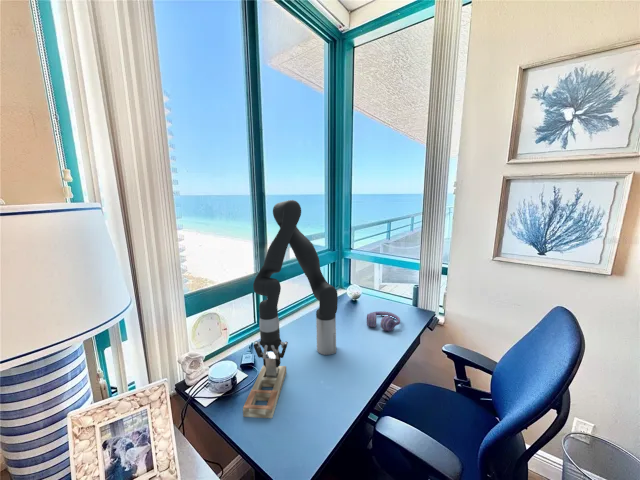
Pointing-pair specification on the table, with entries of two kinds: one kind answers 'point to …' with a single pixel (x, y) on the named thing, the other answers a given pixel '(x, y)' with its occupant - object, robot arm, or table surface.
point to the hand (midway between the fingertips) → (272, 365)
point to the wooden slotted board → (264, 394)
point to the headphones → (383, 320)
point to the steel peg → (271, 365)
